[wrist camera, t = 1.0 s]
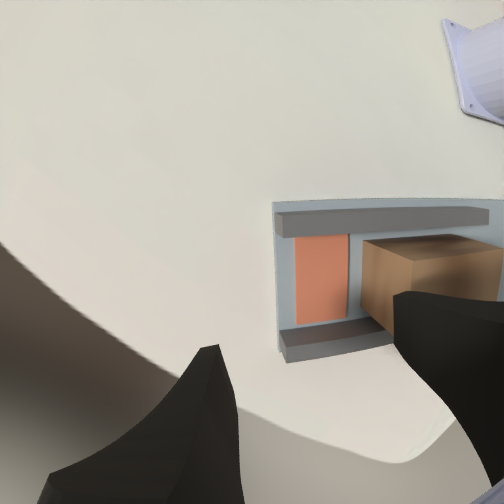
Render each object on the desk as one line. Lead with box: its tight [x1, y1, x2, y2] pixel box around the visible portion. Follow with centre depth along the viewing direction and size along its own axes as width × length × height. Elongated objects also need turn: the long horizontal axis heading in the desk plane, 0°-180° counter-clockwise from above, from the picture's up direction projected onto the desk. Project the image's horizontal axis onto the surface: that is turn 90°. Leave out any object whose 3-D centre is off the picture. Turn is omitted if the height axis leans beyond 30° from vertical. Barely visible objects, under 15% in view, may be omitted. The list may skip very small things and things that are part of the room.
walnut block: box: [360, 233, 504, 336], centre depth 15 cm, size 7×4×5 cm, turn 93°
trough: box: [272, 198, 504, 363], centre depth 17 cm, size 26×9×2 cm, turn 93°
